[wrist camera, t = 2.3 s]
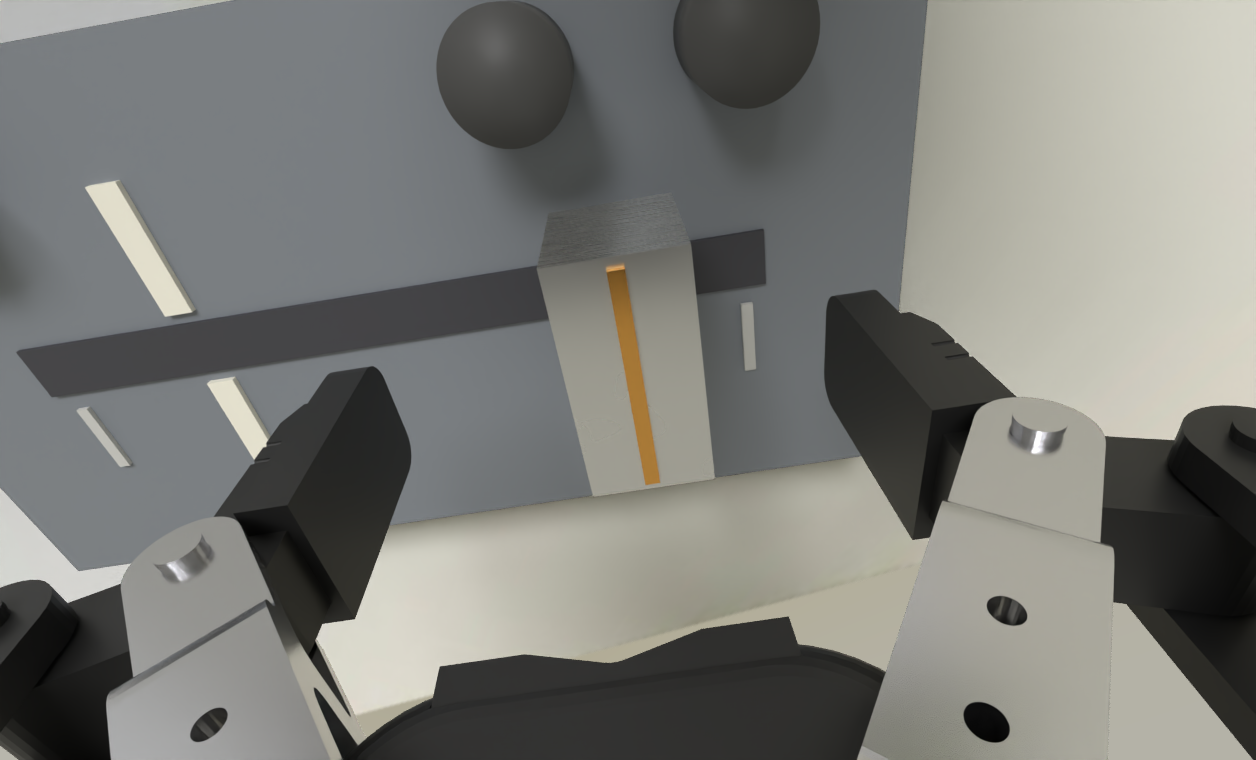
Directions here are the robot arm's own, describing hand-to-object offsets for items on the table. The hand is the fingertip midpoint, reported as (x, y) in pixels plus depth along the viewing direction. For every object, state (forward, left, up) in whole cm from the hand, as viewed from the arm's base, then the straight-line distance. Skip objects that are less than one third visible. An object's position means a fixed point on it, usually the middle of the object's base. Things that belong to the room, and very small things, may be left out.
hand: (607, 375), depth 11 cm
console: (+6, 0, -7) cm, 9 cm away
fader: (-1, 0, -5) cm, 5 cm away
